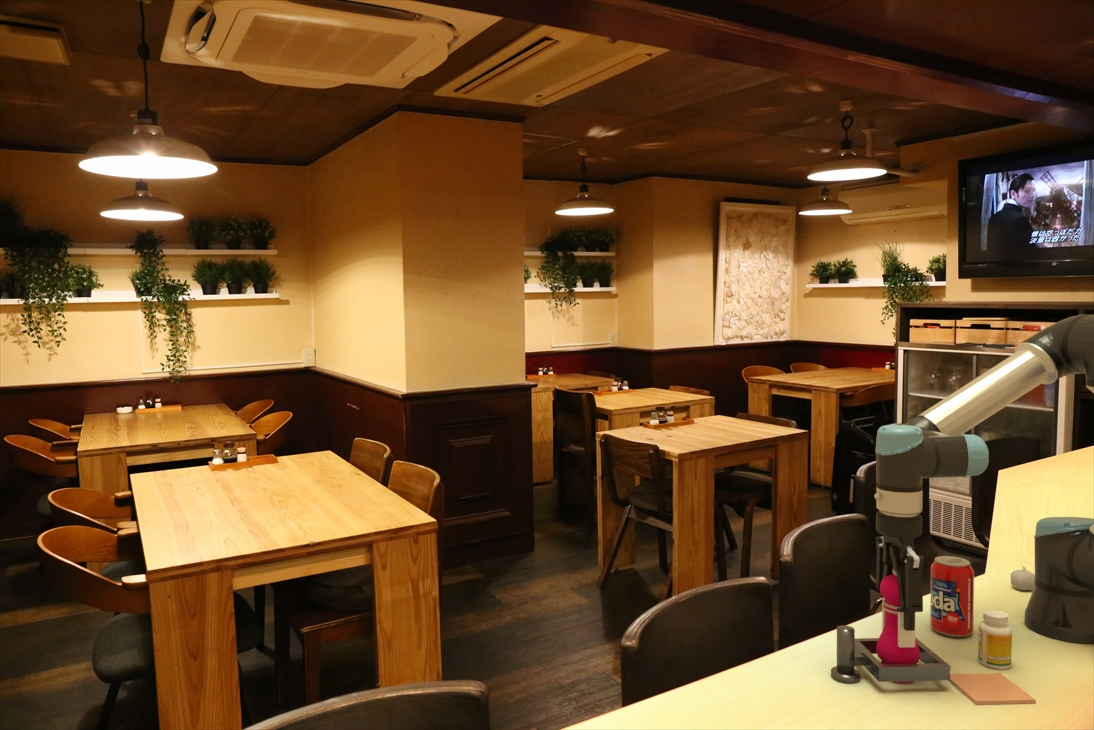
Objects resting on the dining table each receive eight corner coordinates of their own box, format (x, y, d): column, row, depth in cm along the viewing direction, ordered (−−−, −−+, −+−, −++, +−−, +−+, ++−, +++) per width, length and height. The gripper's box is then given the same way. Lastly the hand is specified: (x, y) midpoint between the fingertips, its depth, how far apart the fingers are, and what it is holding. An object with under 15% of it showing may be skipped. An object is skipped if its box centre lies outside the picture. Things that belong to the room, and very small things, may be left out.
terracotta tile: (999, 676, 139) (999, 672, 139) (1035, 703, 129) (1035, 699, 129) (944, 677, 139) (944, 674, 139) (976, 704, 129) (976, 701, 129)
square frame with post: (915, 660, 146) (915, 613, 146) (950, 691, 134) (950, 640, 134) (819, 662, 146) (819, 615, 146) (845, 694, 134) (845, 642, 133)
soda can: (982, 637, 157) (983, 564, 156) (949, 641, 155) (950, 567, 154) (953, 622, 164) (953, 553, 163) (921, 627, 162) (922, 556, 161)
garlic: (1017, 583, 188) (1018, 562, 187) (1041, 589, 183) (1042, 568, 183) (1004, 588, 184) (1005, 567, 184) (1028, 595, 180) (1029, 572, 180)
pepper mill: (924, 686, 136) (925, 574, 135) (881, 683, 137) (880, 572, 136) (914, 668, 143) (914, 561, 142) (872, 666, 144) (872, 560, 144)
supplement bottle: (971, 660, 146) (971, 610, 146) (992, 655, 148) (993, 606, 147) (996, 672, 141) (997, 620, 140) (1018, 667, 143) (1019, 616, 142)
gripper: (856, 500, 148) (856, 620, 149) (902, 525, 129) (901, 662, 130) (895, 500, 148) (895, 619, 149) (946, 524, 129) (945, 661, 131)
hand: (898, 639), depth 140 cm, fingers closed on pepper mill, 5 cm apart
